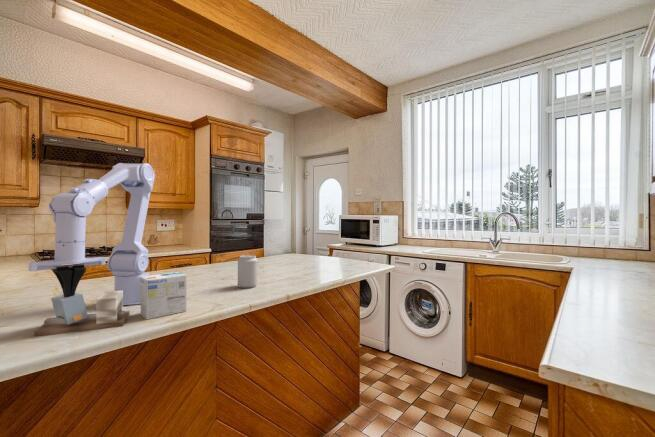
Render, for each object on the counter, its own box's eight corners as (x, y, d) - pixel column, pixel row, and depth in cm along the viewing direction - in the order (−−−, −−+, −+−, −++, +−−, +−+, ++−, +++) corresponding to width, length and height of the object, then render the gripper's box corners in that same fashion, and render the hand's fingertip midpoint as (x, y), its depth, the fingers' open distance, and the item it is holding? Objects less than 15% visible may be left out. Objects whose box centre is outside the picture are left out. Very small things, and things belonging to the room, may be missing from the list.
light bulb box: (179, 306, 93) (179, 270, 93) (187, 311, 88) (187, 274, 88) (139, 314, 85) (139, 275, 85) (145, 320, 81) (145, 279, 80)
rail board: (129, 314, 85) (129, 289, 85) (122, 325, 76) (122, 298, 76) (51, 322, 78) (51, 295, 78) (34, 335, 70) (34, 305, 69)
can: (234, 288, 116) (234, 256, 115) (242, 283, 123) (242, 253, 123) (252, 289, 114) (253, 257, 114) (260, 284, 122) (260, 254, 121)
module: (76, 313, 80) (70, 291, 79) (88, 317, 75) (83, 294, 75) (56, 320, 77) (51, 297, 76) (68, 325, 72) (62, 300, 71)
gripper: (98, 240, 83) (96, 289, 83) (25, 242, 71) (23, 300, 71) (109, 241, 80) (108, 293, 79) (34, 243, 67) (33, 305, 67)
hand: (69, 297), depth 75 cm, fingers closed, pressing on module
